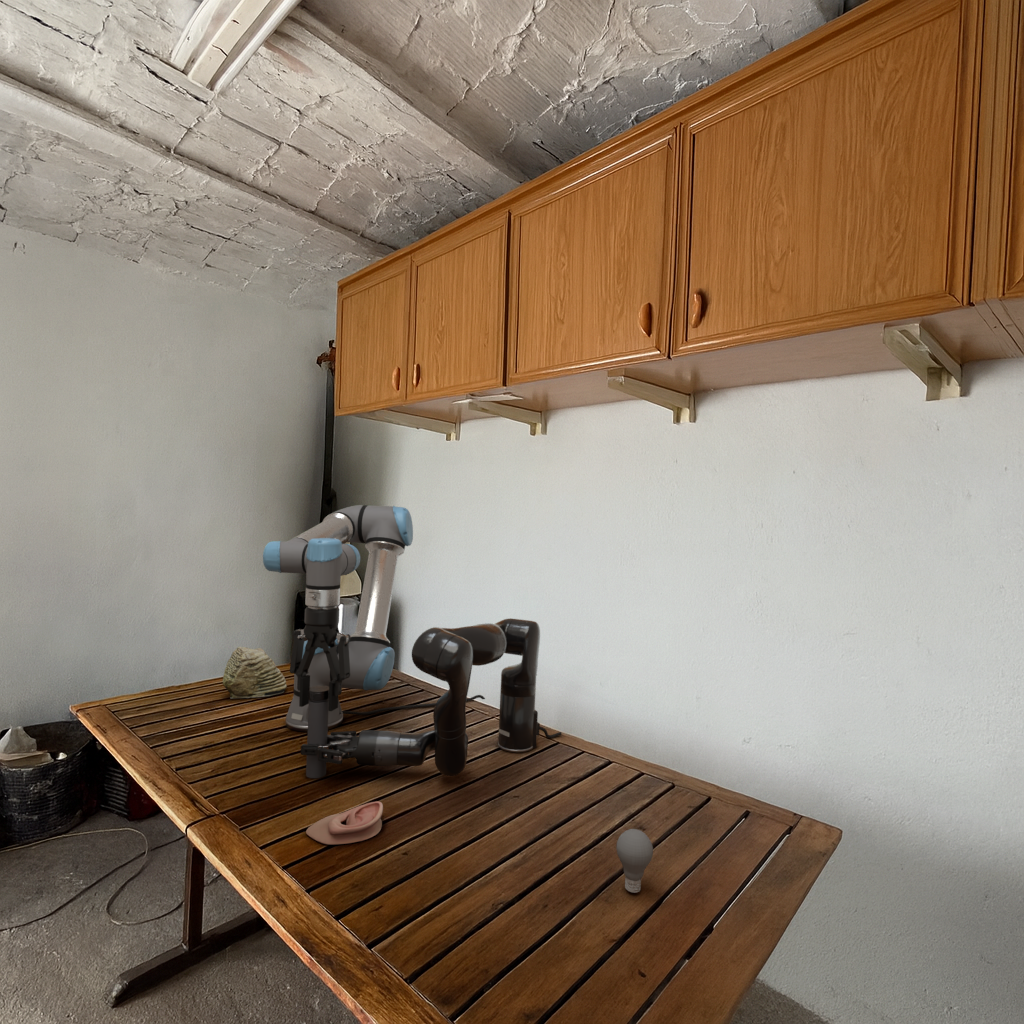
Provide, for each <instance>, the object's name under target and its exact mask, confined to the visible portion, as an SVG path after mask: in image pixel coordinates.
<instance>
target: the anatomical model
mask: <svg viewBox="0 0 1024 1024" xmlns="http://www.w3.org/2000/svg"><path fill="white" fill-rule="evenodd" d="M383 813H384V804H383V803H382V802H381V801H377V800H376V801H371V802H367V803H364V804H361V805H358V806H355V807H353V808H351V809H349V810H346V811H344V812H341V813H336V814H331V815H328V816H326V817H323V818H321V819H319V820H318V821H315V823H313V824H311V825H310V826H309V827H307V829H306V831H305V833H306V835H307V836H308V837H310V838H311V839H313V840H315V841H317V842H318V843H321V844H323V845H333V846H335V845H344V844H345V845H346V844H352V843H357V842H363V841H365V840H368V839H371V838H373V837H374V836H376V835H378V834H379V833H380V832H381V829H382V827H383V821H382V815H383Z"/></svg>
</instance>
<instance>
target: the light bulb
mask: <svg viewBox="0 0 1024 1024" xmlns="http://www.w3.org/2000/svg"><path fill="white" fill-rule="evenodd" d="M615 849H616V854H617V857H618V859H619V861H620V863H621V865H622V867H623V873H624V874H623V875H624V876H625V878H624V888H625V890H627V891H628V892H630V893H634V894H635V893H639V892H640V891H641V889H642V887H641V886H642V879H643V877H644V875H645V871H646V868H647V867H648V866H649V864H650V863H651V861H652V859H653V855H654V847H653V843H652V841H651V838H649V836H648V835H647V834H646V833H645V832H643V831H642V830H641V829H636V828H629V829H627V830H625V831H623V832H622V833H621V834H620V835H619V837H618V839H617V841H616V847H615Z"/></svg>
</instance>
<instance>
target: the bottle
mask: <svg viewBox="0 0 1024 1024" xmlns="http://www.w3.org/2000/svg"><path fill="white" fill-rule="evenodd" d="M328 707H329V699H326V700H321V701H314V700H310V699H309V709H308V732H307V736H306V738H307V740H306V744H316V745H323V744H327V735H329V734H328V732H329V730H328ZM326 749H328V748H326ZM326 775H327V762H323V761H318V757H317V756H316V755H306V763H305V777H307V778H309V779H319V778H323V777H325V776H326Z"/></svg>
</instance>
